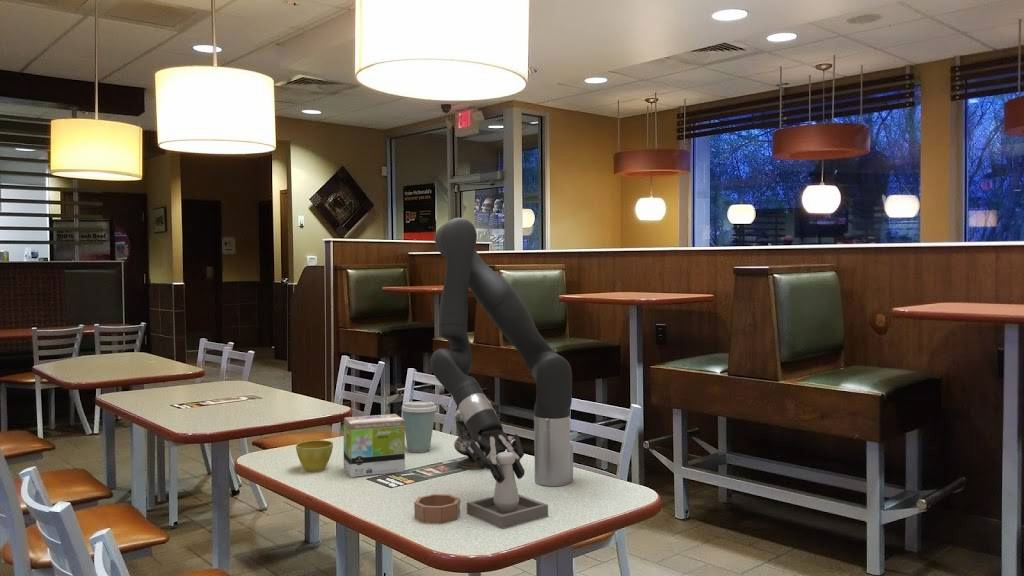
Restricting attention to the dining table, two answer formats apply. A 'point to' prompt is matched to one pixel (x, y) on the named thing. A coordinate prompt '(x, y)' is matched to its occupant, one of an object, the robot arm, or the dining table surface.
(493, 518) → the tray
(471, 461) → the apothecary jar
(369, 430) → the tea box
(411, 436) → the disposable coffee cup
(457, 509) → the cup ring
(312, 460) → the flower pot
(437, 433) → the dining table surface
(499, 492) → the salt shaker
